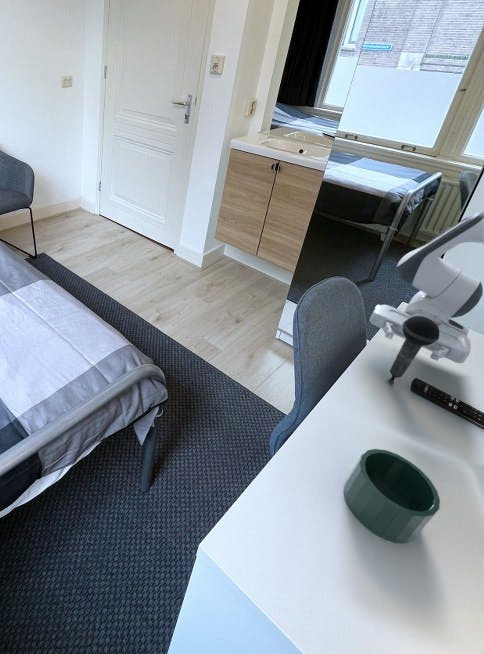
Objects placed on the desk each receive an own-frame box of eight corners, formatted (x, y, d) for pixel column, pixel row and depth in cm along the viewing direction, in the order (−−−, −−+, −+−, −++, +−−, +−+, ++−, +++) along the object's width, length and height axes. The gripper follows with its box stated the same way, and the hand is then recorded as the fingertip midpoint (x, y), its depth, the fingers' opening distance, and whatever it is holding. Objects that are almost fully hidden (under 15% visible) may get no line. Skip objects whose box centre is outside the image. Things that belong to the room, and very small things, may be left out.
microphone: (374, 368, 107) (409, 305, 97) (406, 382, 103) (445, 318, 94) (372, 385, 102) (408, 320, 92) (406, 399, 98) (447, 334, 89)
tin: (409, 492, 78) (428, 465, 74) (426, 556, 69) (449, 529, 65) (340, 466, 82) (355, 439, 78) (347, 524, 72) (365, 496, 68)
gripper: (382, 293, 114) (368, 314, 105) (477, 332, 102) (470, 359, 93) (373, 312, 117) (358, 333, 108) (464, 352, 105) (456, 380, 96)
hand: (411, 346), depth 100 cm, fingers open, 8 cm apart
